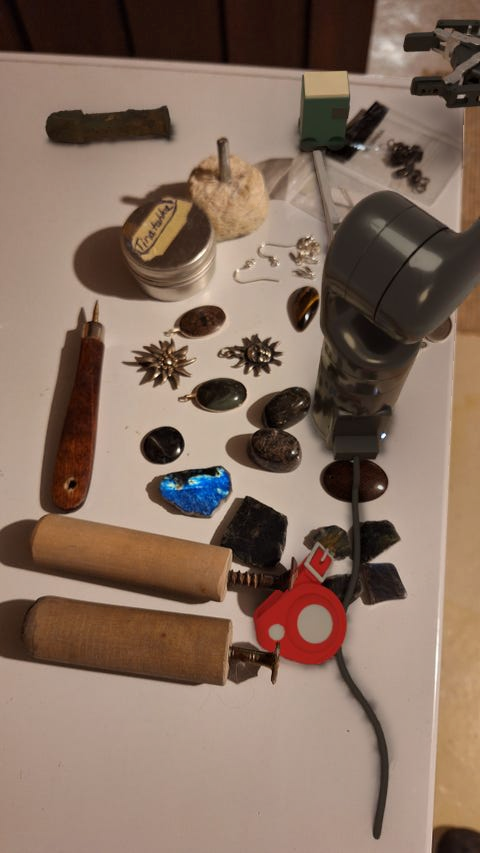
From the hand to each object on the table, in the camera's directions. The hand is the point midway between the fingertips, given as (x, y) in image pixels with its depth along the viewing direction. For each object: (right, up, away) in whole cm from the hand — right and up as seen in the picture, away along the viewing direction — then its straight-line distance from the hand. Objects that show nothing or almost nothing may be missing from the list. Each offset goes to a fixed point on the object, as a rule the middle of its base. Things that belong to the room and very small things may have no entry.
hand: (407, 64), depth 85 cm
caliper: (-10, -17, +6) cm, 21 cm away
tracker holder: (-15, -68, -16) cm, 72 cm away
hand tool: (-42, -4, +13) cm, 44 cm away
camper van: (-10, -5, +11) cm, 16 cm away
